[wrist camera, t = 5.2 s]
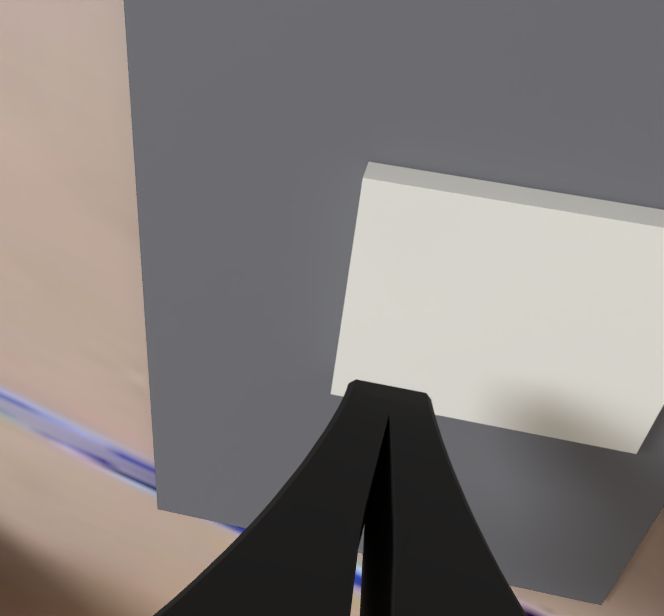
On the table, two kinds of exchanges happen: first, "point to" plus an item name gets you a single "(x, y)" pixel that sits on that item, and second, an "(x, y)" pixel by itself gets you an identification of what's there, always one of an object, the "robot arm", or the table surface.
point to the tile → (508, 305)
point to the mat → (339, 228)
